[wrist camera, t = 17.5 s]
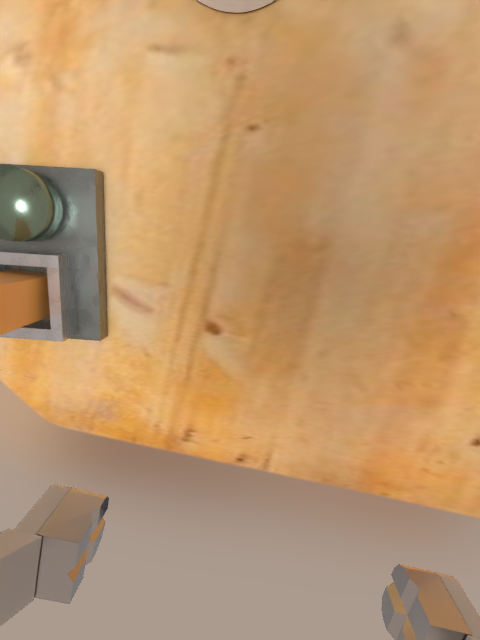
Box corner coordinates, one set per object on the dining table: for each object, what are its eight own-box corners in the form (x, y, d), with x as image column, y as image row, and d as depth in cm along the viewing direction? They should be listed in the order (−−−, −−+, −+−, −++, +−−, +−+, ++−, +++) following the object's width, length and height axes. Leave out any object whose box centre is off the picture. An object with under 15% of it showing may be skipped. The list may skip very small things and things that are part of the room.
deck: (-26, 165, 38) (-68, 154, 33) (103, 172, 37) (80, 163, 32) (-9, 327, 42) (-44, 339, 37) (107, 335, 41) (87, 348, 36)
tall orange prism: (15, 269, 38) (-67, 279, 28) (56, 274, 38) (-13, 287, 28) (16, 308, 39) (-64, 331, 29) (55, 314, 39) (-12, 339, 29)
